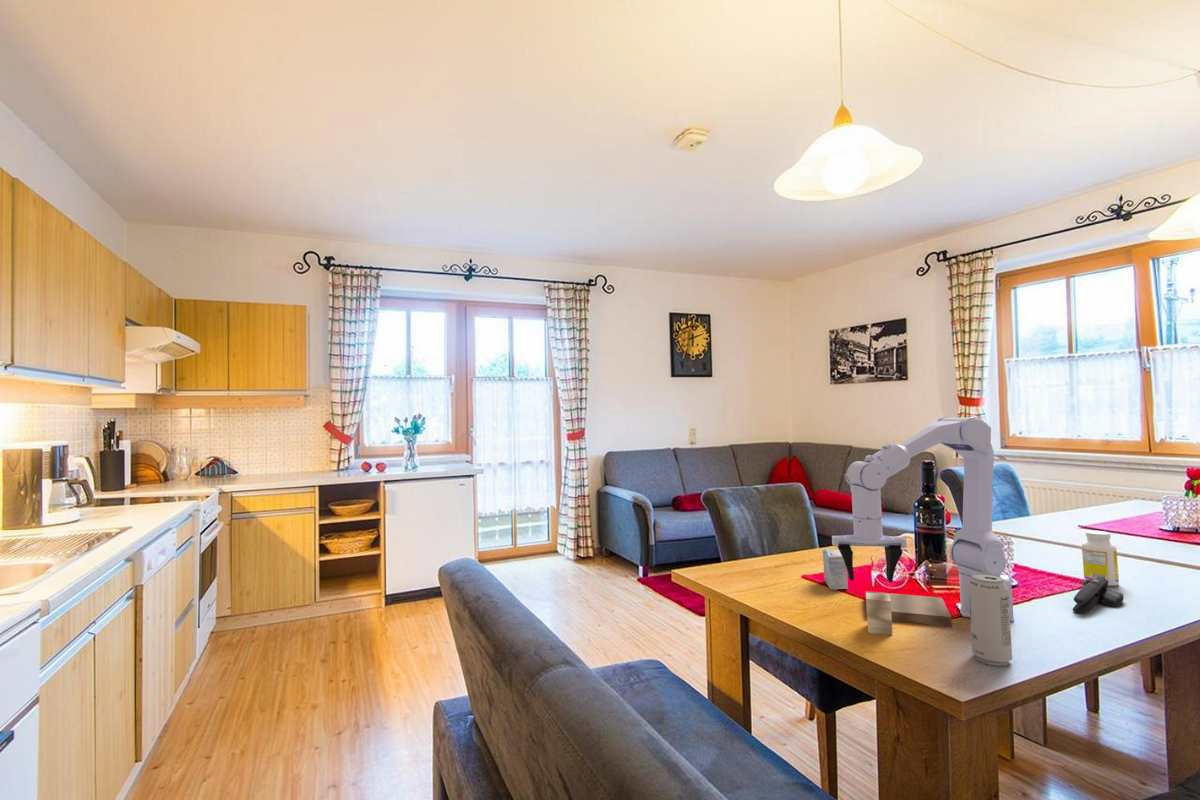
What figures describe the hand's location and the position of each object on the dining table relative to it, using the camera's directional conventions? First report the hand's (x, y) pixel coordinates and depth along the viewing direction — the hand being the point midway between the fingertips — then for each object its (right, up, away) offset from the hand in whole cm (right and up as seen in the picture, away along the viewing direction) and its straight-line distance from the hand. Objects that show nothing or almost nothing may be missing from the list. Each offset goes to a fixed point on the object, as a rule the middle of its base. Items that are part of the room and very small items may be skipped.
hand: (870, 579), depth 121 cm
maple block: (0, -10, -3) cm, 10 cm away
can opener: (+53, -8, +6) cm, 54 cm away
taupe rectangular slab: (+11, -9, +6) cm, 16 cm away
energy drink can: (+13, -9, -19) cm, 25 cm away
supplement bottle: (+69, -8, +21) cm, 73 cm away
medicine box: (+4, -10, +27) cm, 29 cm away
